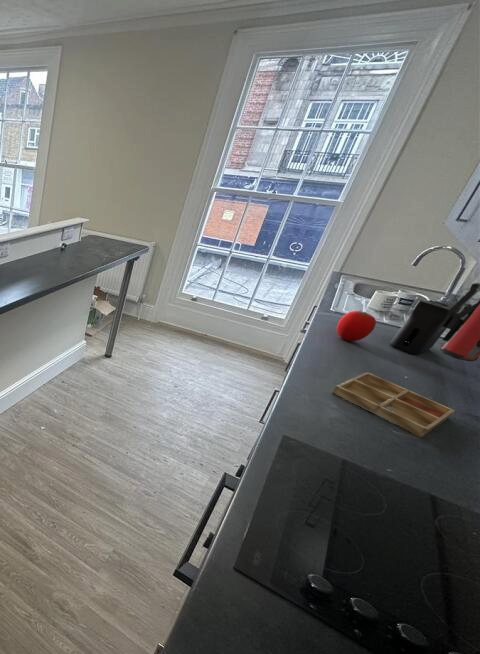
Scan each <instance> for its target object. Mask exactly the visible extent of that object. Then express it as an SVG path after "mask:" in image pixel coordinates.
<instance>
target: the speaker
mask: <svg viewBox="0 0 480 654" xmlns="http://www.w3.org/2000/svg"><path fill="white" fill-rule="evenodd" d="M479 301H480V298H479V299H478V301H477V302H476V303H478V302H479ZM439 350H440V352H441V353H442V354H444V355H447V356H450V357H451V358H453V359H455V360H456V359H457V360H462V361H466V362H476V361H477V360H478V359H479V358H480V357H479V356H480V303H479V304H478V305H477V306H476V308H475V309H474V310H473V311H472V312H471V313H469V314H468V315H466V316H465V317H464V319H463V322H462V323H461V324H460V325H459V326H458V328H457V329H456V330H455V331H454V333H453V334H452V335H451V336H450V337H449V339H448V340H447V341H444V343H443V344H441V346H440V347H439Z"/></svg>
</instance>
